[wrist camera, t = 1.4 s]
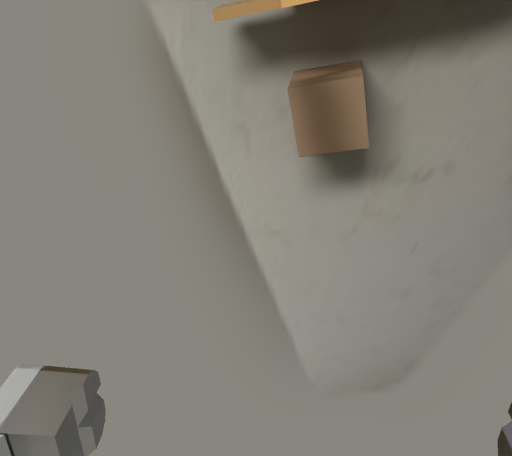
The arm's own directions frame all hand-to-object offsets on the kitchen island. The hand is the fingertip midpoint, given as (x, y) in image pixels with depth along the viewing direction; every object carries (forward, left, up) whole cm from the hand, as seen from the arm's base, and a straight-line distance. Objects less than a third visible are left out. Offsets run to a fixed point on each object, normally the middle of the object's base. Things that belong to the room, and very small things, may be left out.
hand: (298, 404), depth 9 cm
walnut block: (0, +2, -30) cm, 30 cm away
